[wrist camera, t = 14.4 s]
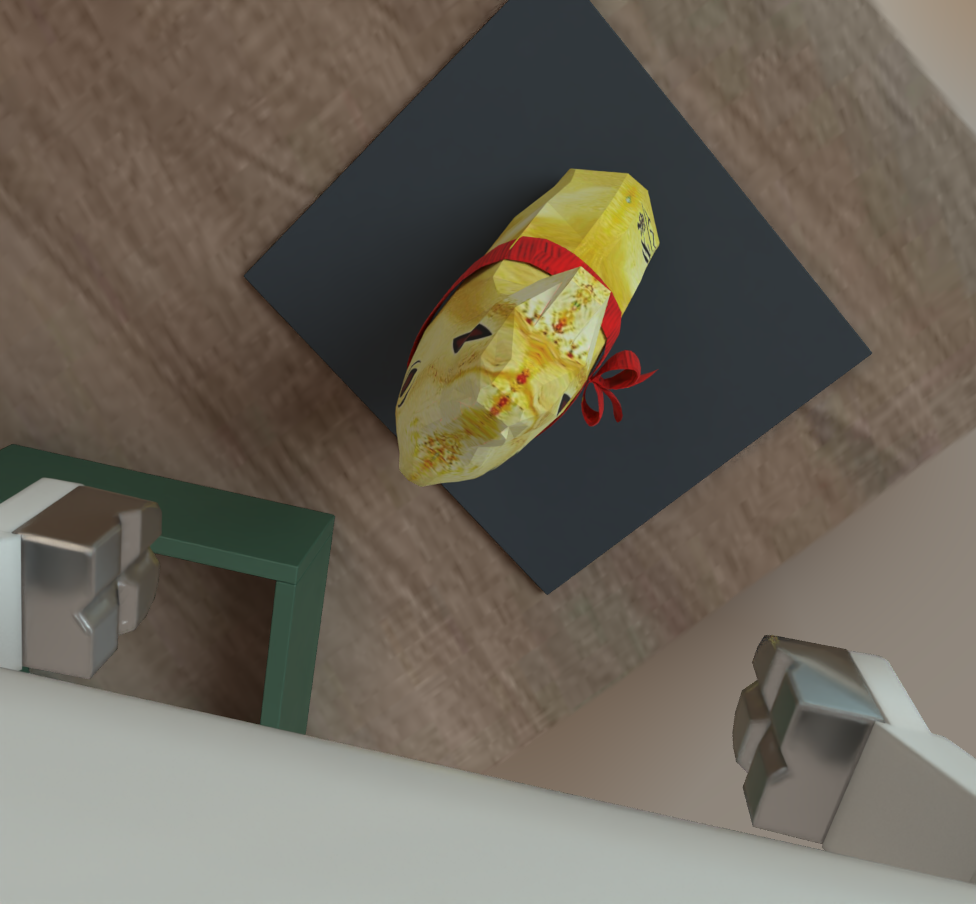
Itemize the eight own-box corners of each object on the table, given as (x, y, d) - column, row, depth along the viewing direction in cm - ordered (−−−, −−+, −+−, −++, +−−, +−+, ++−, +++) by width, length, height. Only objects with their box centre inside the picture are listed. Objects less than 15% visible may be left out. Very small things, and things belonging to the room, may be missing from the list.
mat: (246, 274, 34) (243, 276, 33) (552, -44, 29) (552, -46, 29) (547, 591, 37) (547, 595, 37) (869, 351, 32) (873, 353, 32)
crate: (12, 443, 37) (-71, 484, 33) (335, 514, 37) (298, 567, 32) (14, 725, 43) (-57, 796, 38) (298, 792, 42) (261, 872, 37)
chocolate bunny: (397, 363, 34) (259, 512, 20) (579, 131, 30) (570, 114, 16) (529, 470, 35) (488, 686, 21) (722, 257, 31) (831, 343, 17)
